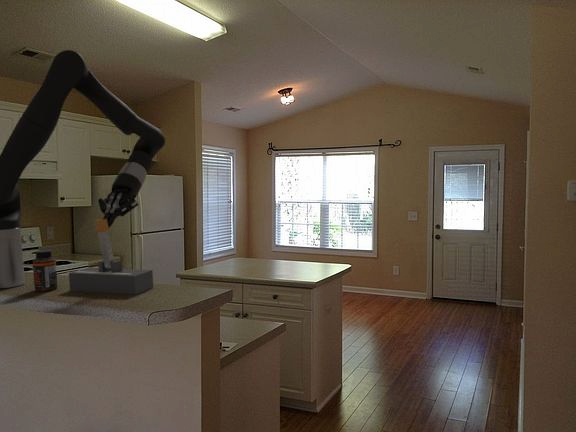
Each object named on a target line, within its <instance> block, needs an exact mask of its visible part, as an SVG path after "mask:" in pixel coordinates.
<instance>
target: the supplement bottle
mask: <svg viewBox="0 0 576 432" xmlns="http://www.w3.org/2000/svg"><path fill="white" fill-rule="evenodd" d="M32 272H33V285H34V291H36V292H41V293H44V292H52V291H54V290H56V289H57V288H58V273H57V260H56V258H55V257H54V256H52V250H51V249H41V250H36V251H35V258H33V260H32ZM51 290H52V291H51Z"/></svg>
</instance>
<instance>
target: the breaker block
mask: <svg viewBox="0 0 576 432" xmlns="http://www.w3.org/2000/svg"><path fill="white" fill-rule="evenodd" d="M122 262H123V261H122V260H121V259H120V260H119V259H118V260H114V262H111V269H112V271H107V270H106V269H105V265H104V260H103V259H102V260H100V261H97V263H98V264H97V265H98V267H87V268H83V269H79V270H76V271H72V272H68V279H69V291H71V292H72V291H74V292H87V293H90V292H91V293H103V294H104V293H106V294H107V293H108V294H118V295H119V294H121V295H123V294H124V295H138V294H140V293H143V292H146V291H148V290H151V289H153V288H154V279H153V278H154V276H153V275H154V274H153V269H134V268H133V269H131V268H130V269H129V268H123V263H122Z"/></svg>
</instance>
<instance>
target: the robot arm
mask: <svg viewBox="0 0 576 432" xmlns="http://www.w3.org/2000/svg"><path fill="white" fill-rule="evenodd" d="M46 73H47V74H46V76H45V78H44V80H43V82H42V83H41V86H40V87H39V89H38V90H37V92H36V93H35V95H34V96H33V98H32V99H31V100H30V102H29V104H28V106H27V107H26V109H25V110H24V111H23V113H22V115H21V116H20V118H19V120H18V121H17V123H16V124H15V127H14V128H13V130H12V131H11V133H10V136H9V137H8V139H7V140H6V142H5V144H4V147H3V148H2V151H1V152H0V289H9V288H14V287H19V286H23V285H24V284H25V283H26V282H25V281H26V280H25V271H24V269H25V268H24V267H25V266H24V258H23V257H24V256H23V247H22V246H23V245H22V244H23V243H22V234H21V231H22V230H21V217H22V207H21V194H20V186H19V184H18V182H19V179H20V178H21V176H22V174H23V172H24V171H25V169H26V168H27V167H28V165H29V164H30V163H31V162H32V161H33V160H34V158H36V157H37V155H38V154H39V153H41V151H42V150H43V149H44V147H45V146H46V144H47V143H48V141H49V140H50V138H51V136H52V135H53V132H54V131H55V128H56V127H57V125H58V122H59V119H60V117H61V113H62V109H63V107H64V104H65V102H66V100H67V98H68V96H69V95H70V93H71V92H72V90H73V89H74V90H75V91H77V92H78V93H80V94H81V95H83V96H84V97H85V98H86V99H87V100H89V102H91V103H92V104H93V105H94V106H95V107H96V108H97V109H98V110H99V111H100V112H101V113H102V114H103V115H104V116H105V117H106V118H107V119H108V120H109V121H110V122H111V123H112V124H113V125H114V126H115V127H116V128H117V129H118V130H119V131H121V133H122V134H124V136H125V135H126V136H131V135H133V134H134V135H136V136H138V137H139V138H138V140H137V141H136V142H135V145H134V146H133V148H132V151H131V154H130V156H128V159H127V160H126V162H125V163H124V165H123V167H122V168H121V169H120V170H119V172H118V175H117V176H116V178H115V180H114V181H113V183H112V185H111V191H110V192H109V193H108V195H107V197H105V198H104V199H103V198H99V199H98V200H97V202H98V206H99V210H100V212H101V213H102V214H103V218H102V219H107V223H108V227H109V229H110V228H111V227H112V226H113V224H114V222H115V220H116V219H117V218H119V217H122V218H123V217H124V216H125V215H127V214H128V213H129V212H131V211H132V210H134V209H135V208H136V207H138V206H139V203H138V202H137V199H136V198H137V196H138V194H139V192H140V190H141V189H142V186H143V185H144V183H145V180H146V178H147V176H148V174H149V171H150V170H151V168H152V165H153V159H154V158H155V157H156V155H157V154H158V153H159V152H160V151H161V150H162V148H163V147H164V146H165V144H166V137H165V135H164V134H163V132H162V131H161V130H160V129H159V128H158V127H156V126H155V125H153V124H151V123H149V121H146V120H144V119H143V118H141V117H139V116H138V115H137V114H136V112H134V111H133V110H132V109H131V108H130V107H129V106H128V105H127V104H125V103H124V102H123V101H122V100H121V98H118V97H117V96H116V95H114V94H113V93H112V92H111V91H110V90H108V88H107V87H105V85H103V84H102V83H101V82H100V81H99V80H98V79H97V77H95V75H94V73H93V72H92V71H91V70H90V68H89V67H88V64H87V62H86V60H85V59H84V58H83V56H82V55H81V54H80V53H79V52H77V51H75V50H71V49H66V50H62V51H60V52H58V53H57V54H56V55H55V56H54V58H53V59H52V62H51V64H50V67H49V69H48V72H46Z"/></svg>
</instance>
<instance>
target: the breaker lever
mask: <svg viewBox="0 0 576 432" xmlns="http://www.w3.org/2000/svg"><path fill="white" fill-rule="evenodd" d="M93 223H94V228H95V231H96V233H97V236H98V239H99V241H98V242H99V246H100V250H101V255H102V261H103V260H104V265H105V269H106V270H107V271H112V269H111V262H114V261H115V258H114V254H113V248H112V243H111V239H110V234H109V230H110V228H109V227H108V223H107V219H103V218H97V219H95V220H93Z"/></svg>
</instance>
